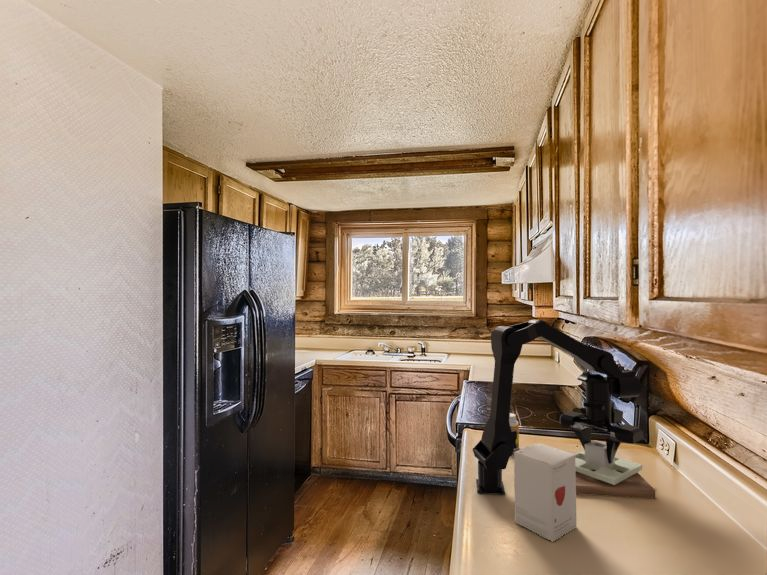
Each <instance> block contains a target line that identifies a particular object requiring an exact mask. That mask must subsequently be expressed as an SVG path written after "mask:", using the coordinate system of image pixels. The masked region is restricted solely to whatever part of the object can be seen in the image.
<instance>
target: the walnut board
mask: <svg viewBox="0 0 767 575" xmlns="http://www.w3.org/2000/svg"><path fill="white" fill-rule="evenodd" d="M578 459H581V460H584V461H585V459H583V458H578ZM585 469H588V470H591V471H596V470H593V469H591V468H588V467H587V468H585ZM613 470H614V471H617V472H620V473H624V472H622V471H619V470H616V469H613ZM576 495H588V496H589V495H591V496H602V497H603V496H604V497H605V496H606V497H621V498H634V499H635V498H636V499H648V500H649V499H652V500H656V490H655V488H653V486H652V485H651V484H650V483H649V482H648V481H647V480H646V479H645V478H644V477H643V476H642V475H641V474H640V473H639V472H637V473H635V474H633V475H632V476H630V477H628V478H626V479H624V480H623V481H621V482H619V483H617V484H615V485H613V484H610V483H607V482H605V481H602V480H599V479H596V478H594V477H591V476H588V475H585V474H582V473H580V472H577V471H576Z"/></svg>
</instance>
